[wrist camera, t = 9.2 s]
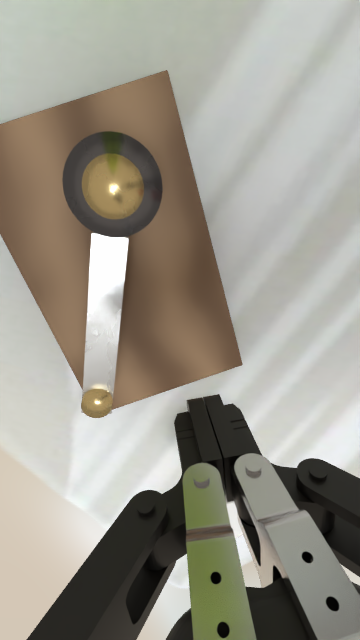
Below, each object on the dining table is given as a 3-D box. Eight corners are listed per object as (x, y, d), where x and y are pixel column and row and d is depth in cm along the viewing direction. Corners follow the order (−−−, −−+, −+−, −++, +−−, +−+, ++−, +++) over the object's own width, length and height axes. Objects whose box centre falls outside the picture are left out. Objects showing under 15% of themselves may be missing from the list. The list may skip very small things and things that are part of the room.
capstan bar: (77, 134, 19) (61, 118, 14) (161, 150, 20) (170, 141, 15) (68, 379, 25) (54, 422, 21) (132, 383, 26) (133, 425, 22)
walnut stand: (163, 80, 20) (167, 68, 18) (235, 353, 29) (243, 366, 27) (-33, 144, 20) (-52, 139, 18) (98, 400, 29) (95, 416, 27)
